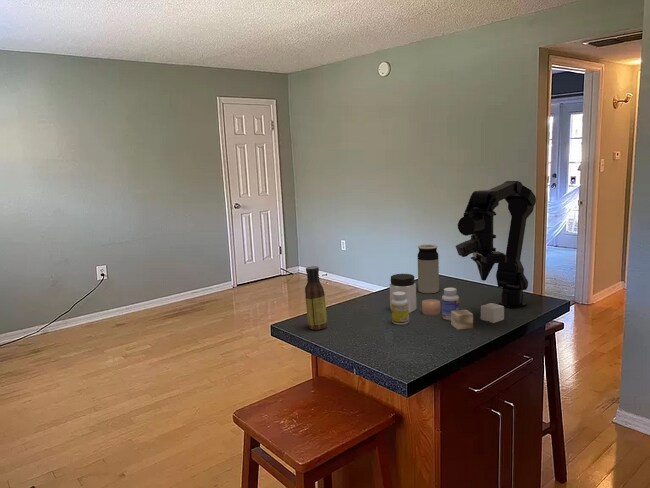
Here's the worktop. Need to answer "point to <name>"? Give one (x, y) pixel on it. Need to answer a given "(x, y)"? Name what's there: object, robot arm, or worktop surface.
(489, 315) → the grey block
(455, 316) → the birch block
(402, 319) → the supplement bottle
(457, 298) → the pill bottle
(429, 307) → the tan rounded cylinder
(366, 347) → the worktop surface
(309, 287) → the sauce bottle
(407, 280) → the jar
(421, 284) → the travel mug
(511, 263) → the robot arm
